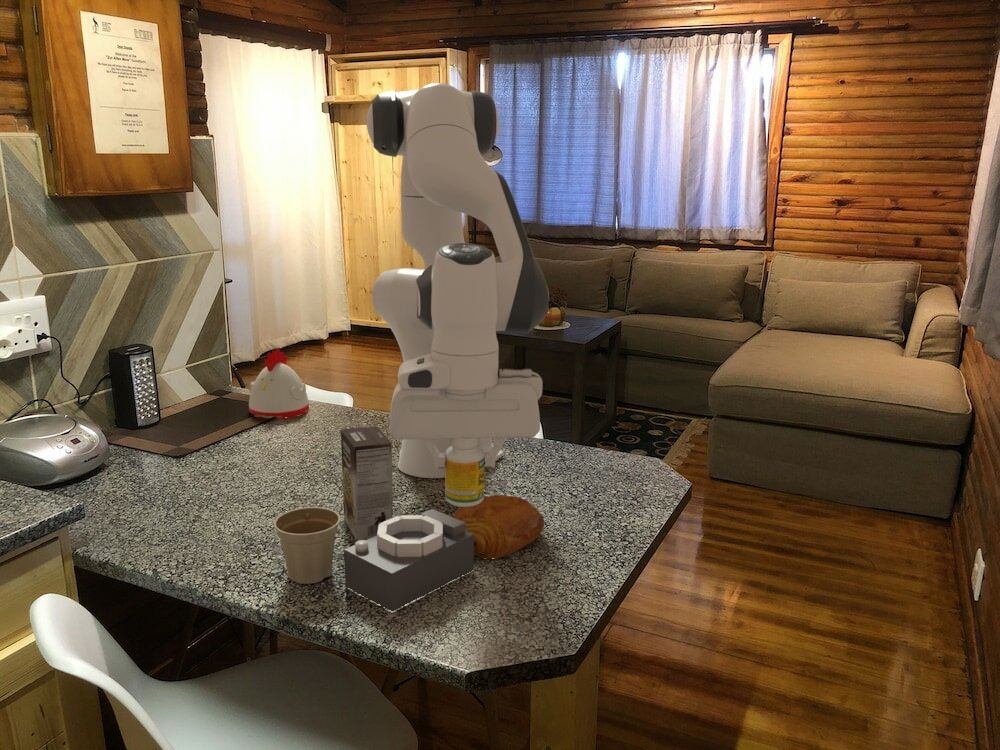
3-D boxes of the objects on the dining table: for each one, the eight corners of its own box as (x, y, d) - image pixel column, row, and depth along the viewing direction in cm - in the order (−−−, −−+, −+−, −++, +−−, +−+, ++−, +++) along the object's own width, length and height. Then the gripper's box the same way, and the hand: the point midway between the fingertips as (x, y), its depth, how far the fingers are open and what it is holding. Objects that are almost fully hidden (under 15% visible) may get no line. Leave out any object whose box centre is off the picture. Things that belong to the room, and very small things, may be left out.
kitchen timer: (237, 415, 191) (233, 353, 187) (270, 400, 204) (267, 341, 200) (288, 422, 187) (285, 359, 183) (319, 406, 200) (317, 346, 196)
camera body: (426, 549, 127) (426, 502, 125) (473, 571, 121) (474, 521, 119) (345, 587, 115) (343, 536, 113) (392, 613, 109) (391, 559, 107)
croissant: (556, 550, 133) (563, 503, 132) (494, 571, 121) (502, 520, 120) (491, 521, 142) (497, 478, 141) (427, 539, 130) (433, 491, 129)
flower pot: (267, 569, 120) (263, 515, 118) (326, 553, 125) (324, 501, 123) (291, 597, 113) (288, 540, 110) (353, 578, 118) (351, 524, 116)
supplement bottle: (445, 492, 115) (445, 427, 112) (483, 491, 115) (484, 427, 112) (444, 508, 109) (444, 440, 107) (484, 507, 110) (485, 440, 107)
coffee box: (342, 519, 137) (339, 428, 133) (379, 513, 140) (377, 424, 136) (355, 542, 129) (352, 446, 125) (394, 535, 132) (392, 441, 128)
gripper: (540, 362, 111) (537, 457, 115) (389, 363, 109) (391, 459, 113) (546, 375, 105) (543, 474, 109) (386, 376, 103) (389, 477, 107)
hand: (464, 466), depth 111 cm, fingers closed on supplement bottle, 5 cm apart
